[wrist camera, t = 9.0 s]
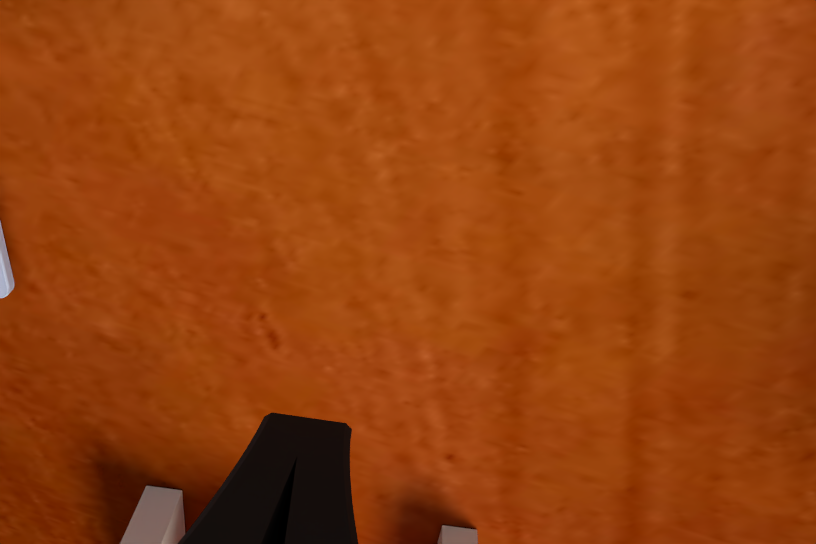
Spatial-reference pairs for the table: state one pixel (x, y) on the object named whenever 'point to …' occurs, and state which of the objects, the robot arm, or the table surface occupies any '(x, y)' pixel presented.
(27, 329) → the table surface
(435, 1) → the table surface
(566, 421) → the table surface
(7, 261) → the robot arm
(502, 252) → the table surface
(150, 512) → the holder
